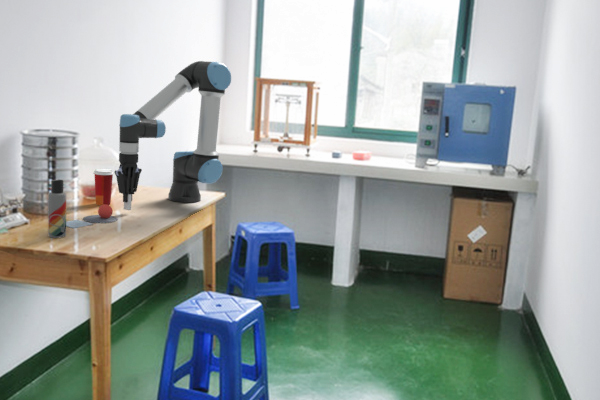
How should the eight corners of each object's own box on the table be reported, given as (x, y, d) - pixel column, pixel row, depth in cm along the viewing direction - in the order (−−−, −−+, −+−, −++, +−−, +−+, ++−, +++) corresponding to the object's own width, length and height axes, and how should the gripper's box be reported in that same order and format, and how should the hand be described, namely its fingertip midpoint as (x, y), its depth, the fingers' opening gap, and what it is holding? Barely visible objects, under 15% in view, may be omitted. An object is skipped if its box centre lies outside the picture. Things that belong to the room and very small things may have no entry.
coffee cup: (112, 202, 268) (113, 169, 265) (113, 206, 260) (113, 172, 257) (92, 201, 265) (93, 168, 262) (92, 206, 257) (93, 171, 254)
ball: (97, 219, 239) (107, 212, 243) (107, 222, 236) (117, 214, 240) (93, 208, 236) (103, 200, 240) (103, 210, 233) (113, 203, 237)
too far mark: (77, 220, 232) (77, 219, 232) (93, 224, 228) (93, 223, 228) (57, 223, 225) (57, 223, 225) (73, 228, 220) (73, 227, 220)
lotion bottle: (57, 239, 205) (58, 181, 202) (44, 236, 207) (44, 179, 203) (69, 235, 211) (70, 179, 207) (56, 232, 213) (56, 177, 209)
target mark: (102, 213, 245) (102, 213, 245) (124, 219, 239) (124, 219, 239) (75, 218, 234) (75, 218, 234) (98, 224, 228) (98, 224, 228)
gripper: (134, 150, 251) (132, 205, 255) (109, 152, 240) (108, 210, 244) (147, 153, 247) (145, 208, 252) (123, 155, 236) (121, 213, 241)
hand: (127, 209), depth 248 cm, fingers closed
